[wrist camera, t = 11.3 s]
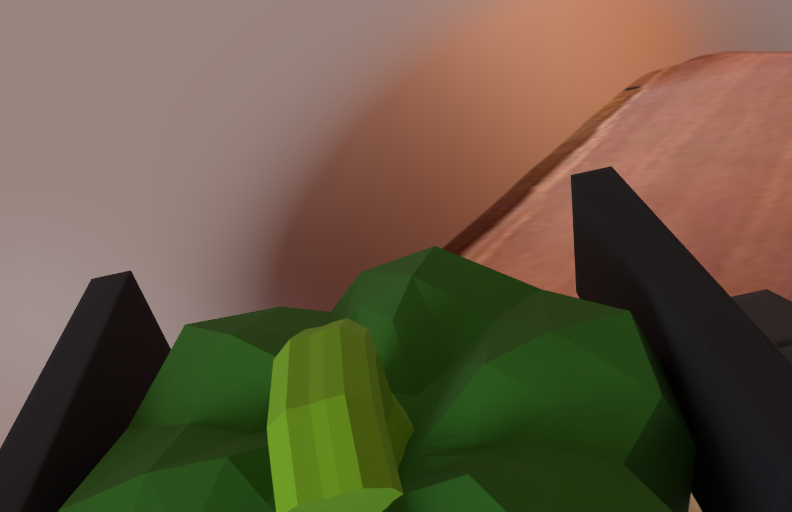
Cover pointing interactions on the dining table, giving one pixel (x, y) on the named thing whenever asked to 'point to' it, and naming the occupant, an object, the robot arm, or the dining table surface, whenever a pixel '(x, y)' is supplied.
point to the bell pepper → (406, 407)
